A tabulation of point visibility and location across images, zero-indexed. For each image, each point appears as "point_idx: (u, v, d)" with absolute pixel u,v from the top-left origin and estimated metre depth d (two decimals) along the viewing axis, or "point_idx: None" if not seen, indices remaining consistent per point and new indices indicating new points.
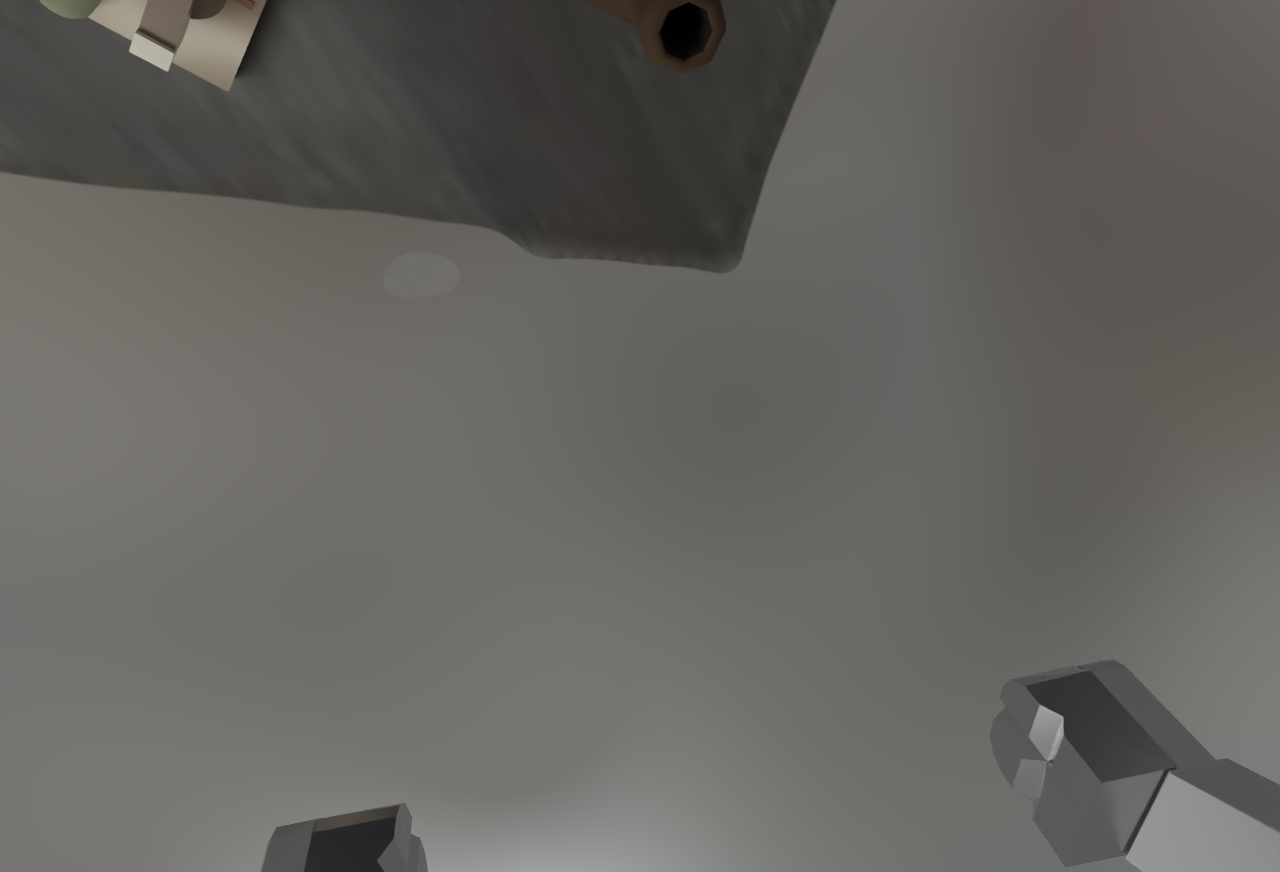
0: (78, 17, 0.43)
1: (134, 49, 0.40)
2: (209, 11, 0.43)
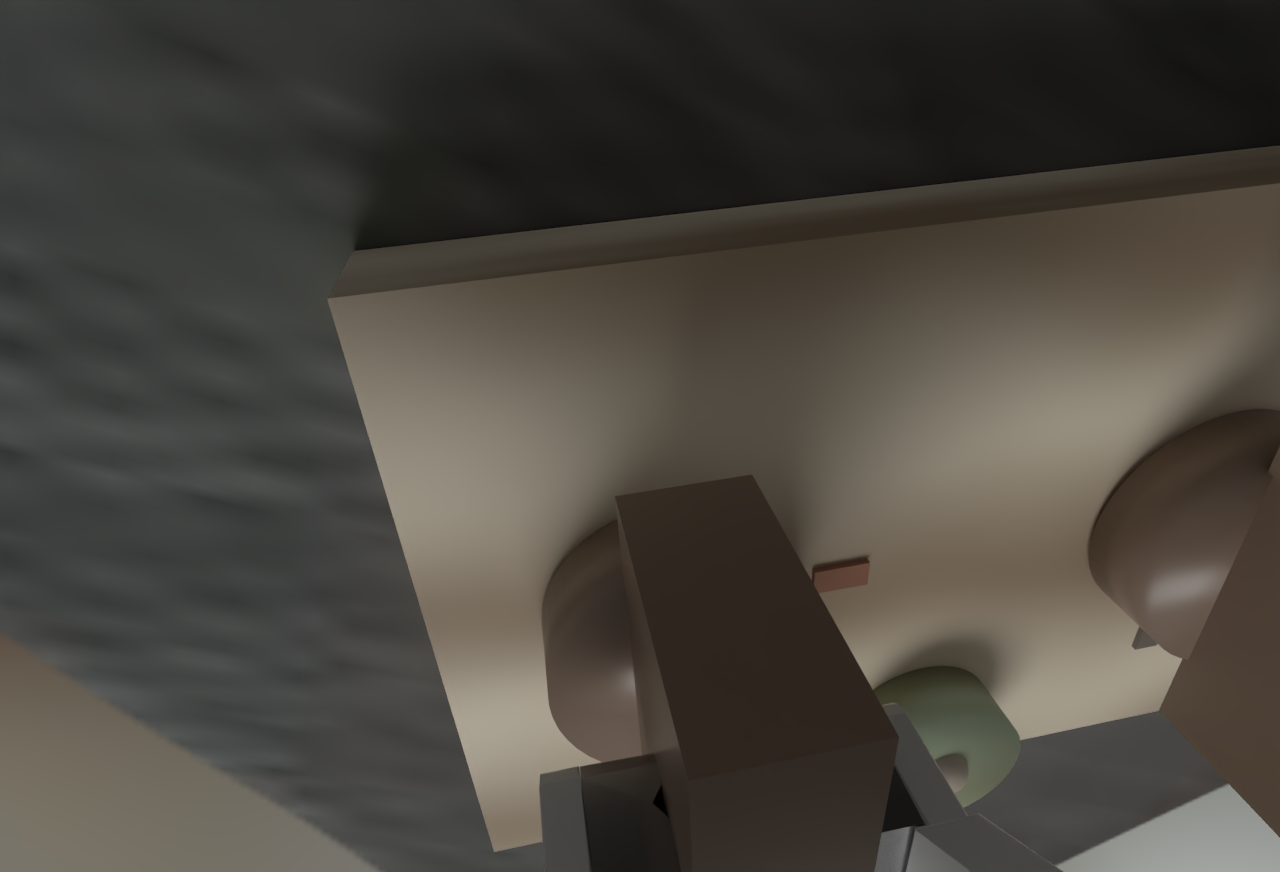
0: (973, 793, 0.15)
1: None
2: None
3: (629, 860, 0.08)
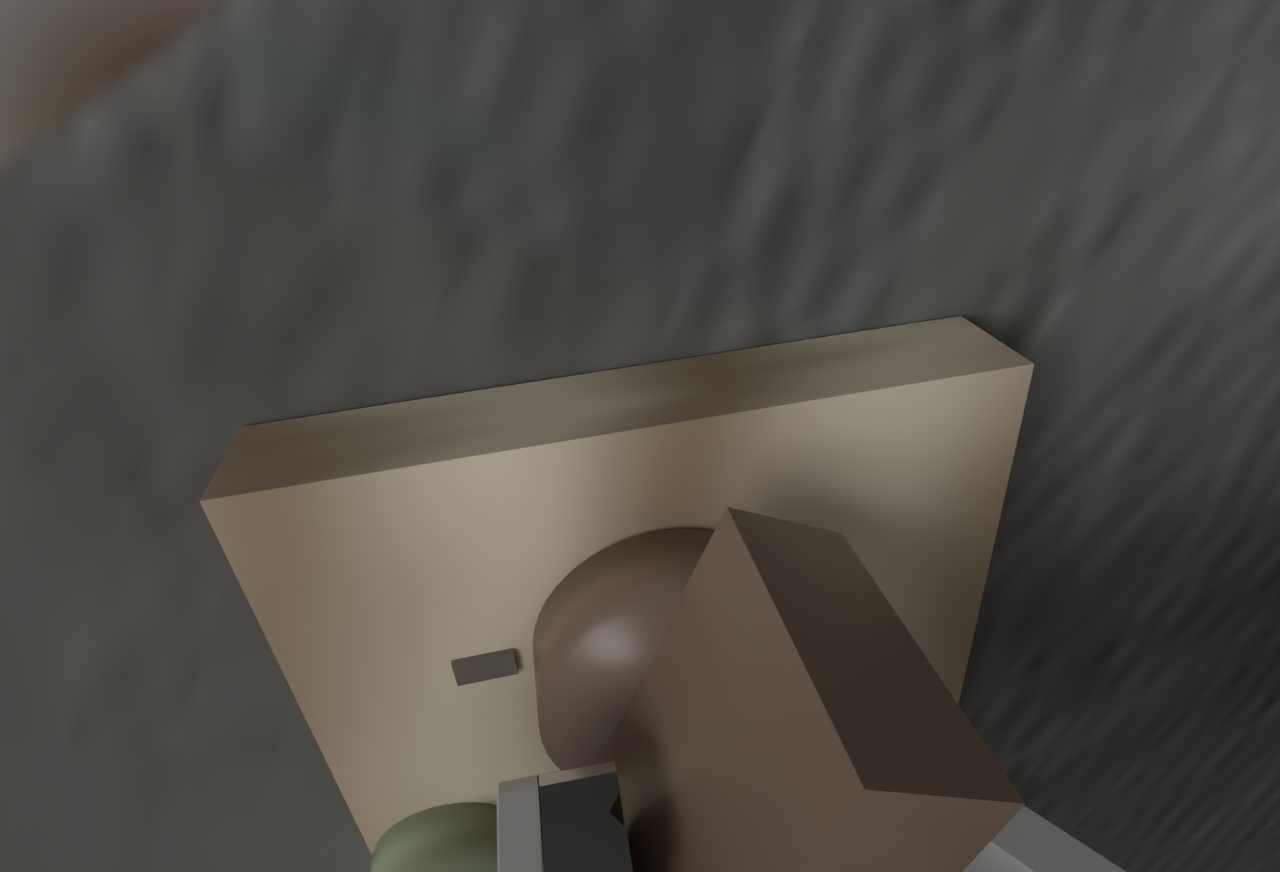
0: None
1: None
2: None
3: (583, 870, 0.08)
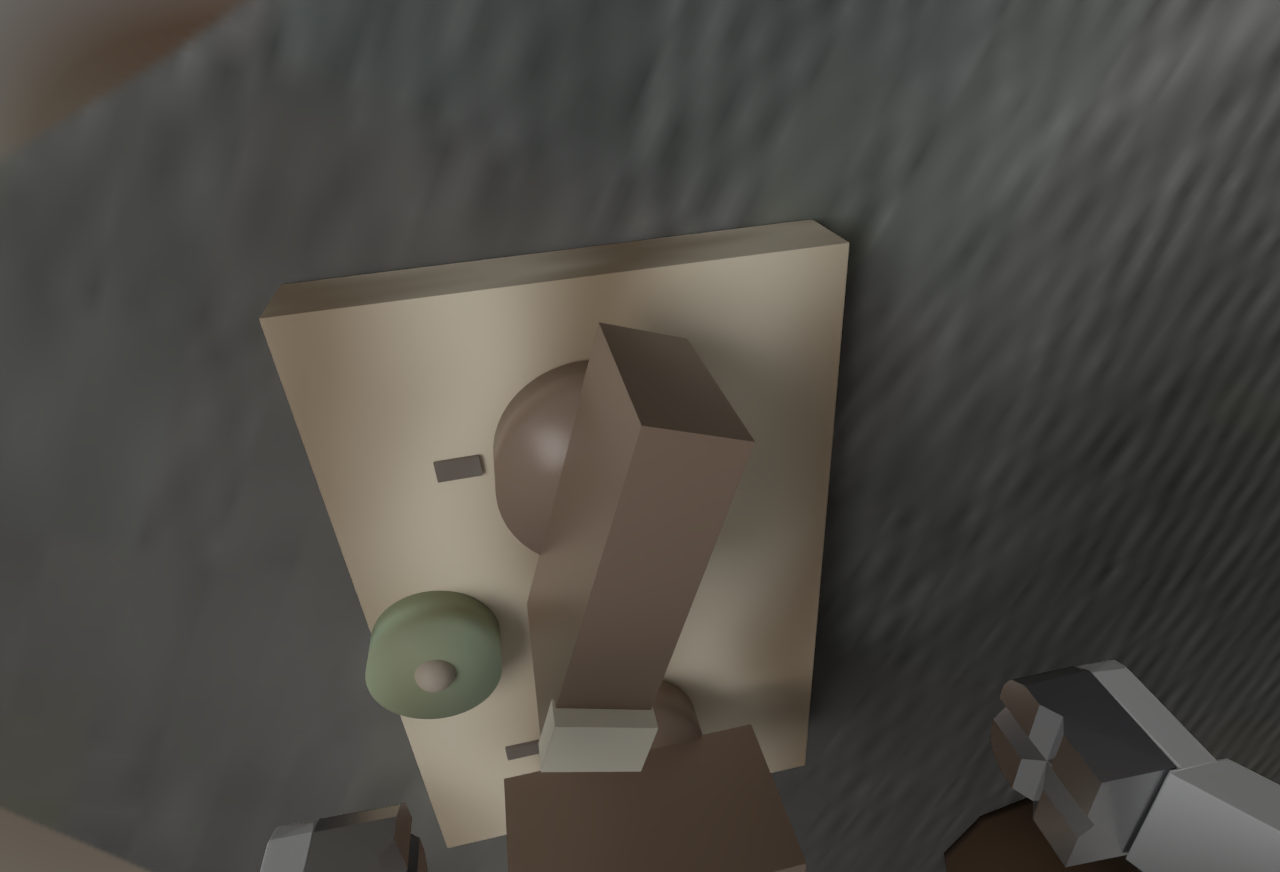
0: (391, 706, 0.18)
1: None
2: None
3: None
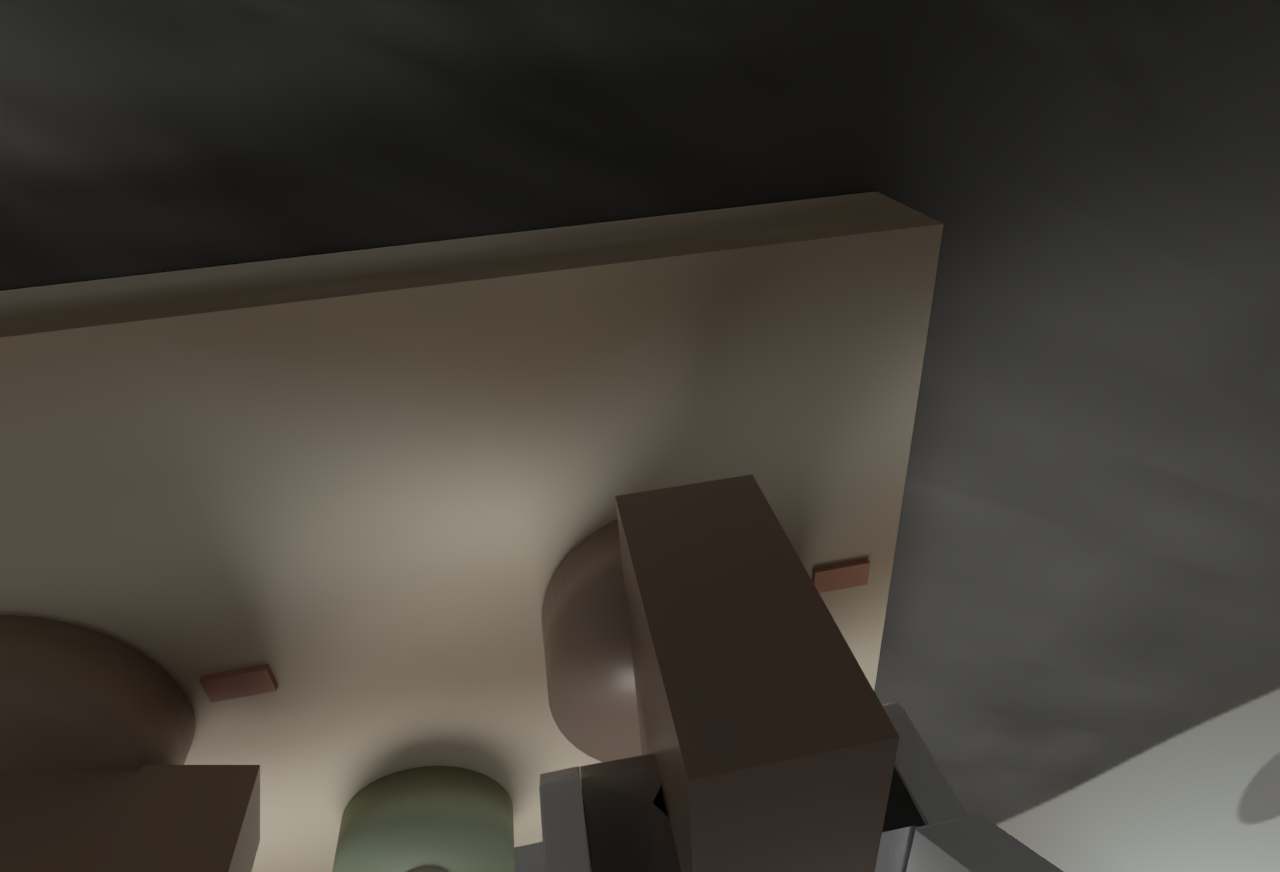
0: None
1: None
2: None
3: (629, 860, 0.08)
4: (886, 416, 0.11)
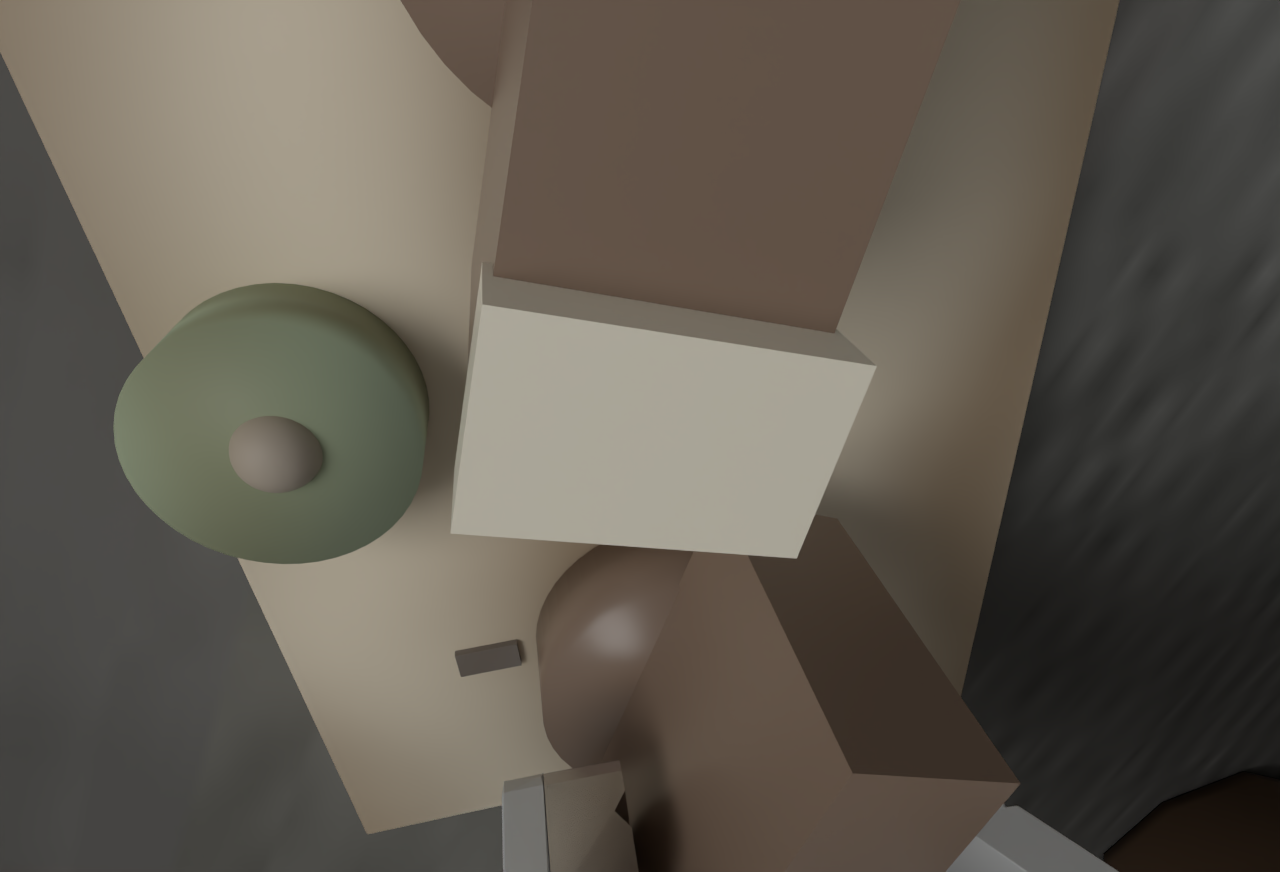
0: (194, 531, 0.09)
1: None
2: None
3: (589, 869, 0.08)
4: None
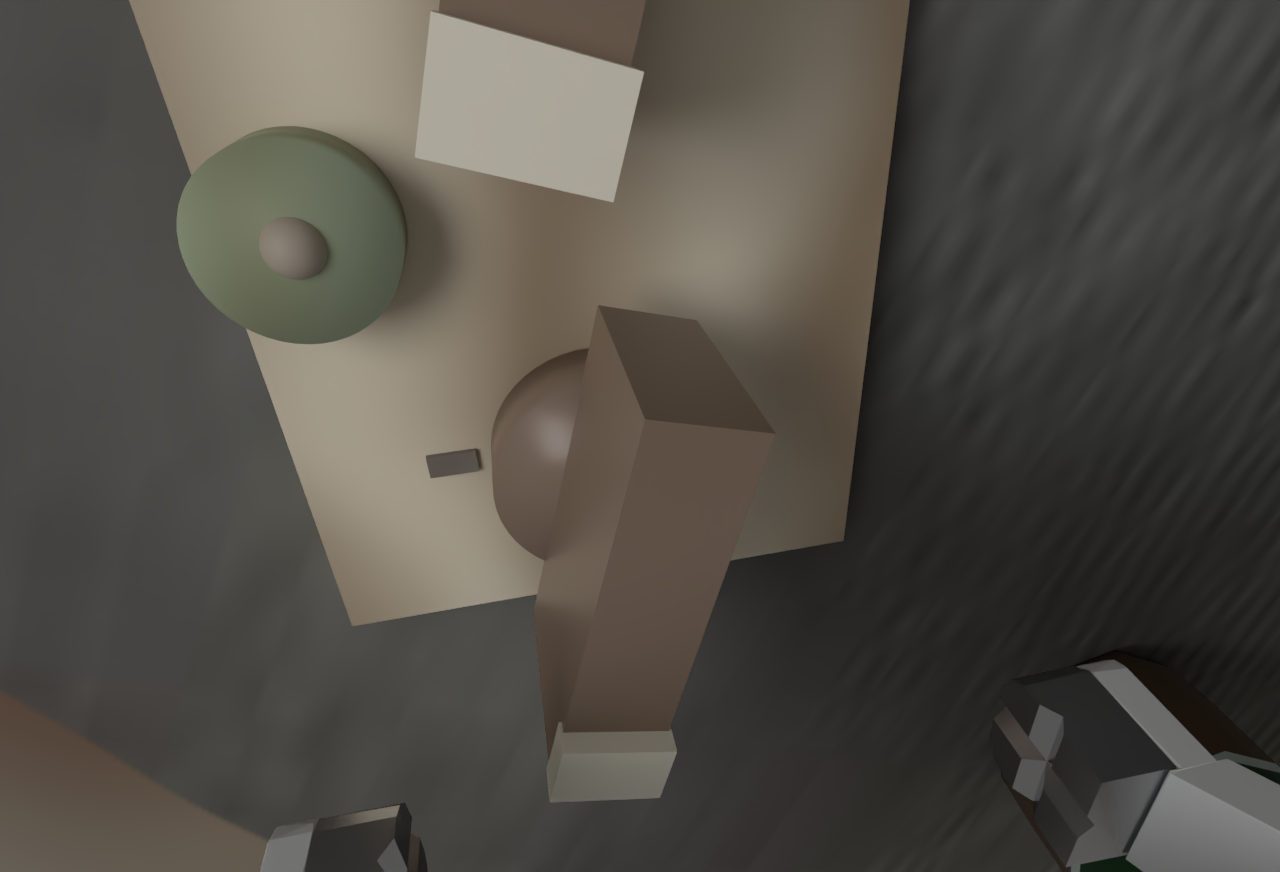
0: (229, 313, 0.12)
1: (563, 791, 0.12)
2: None
3: None
4: None
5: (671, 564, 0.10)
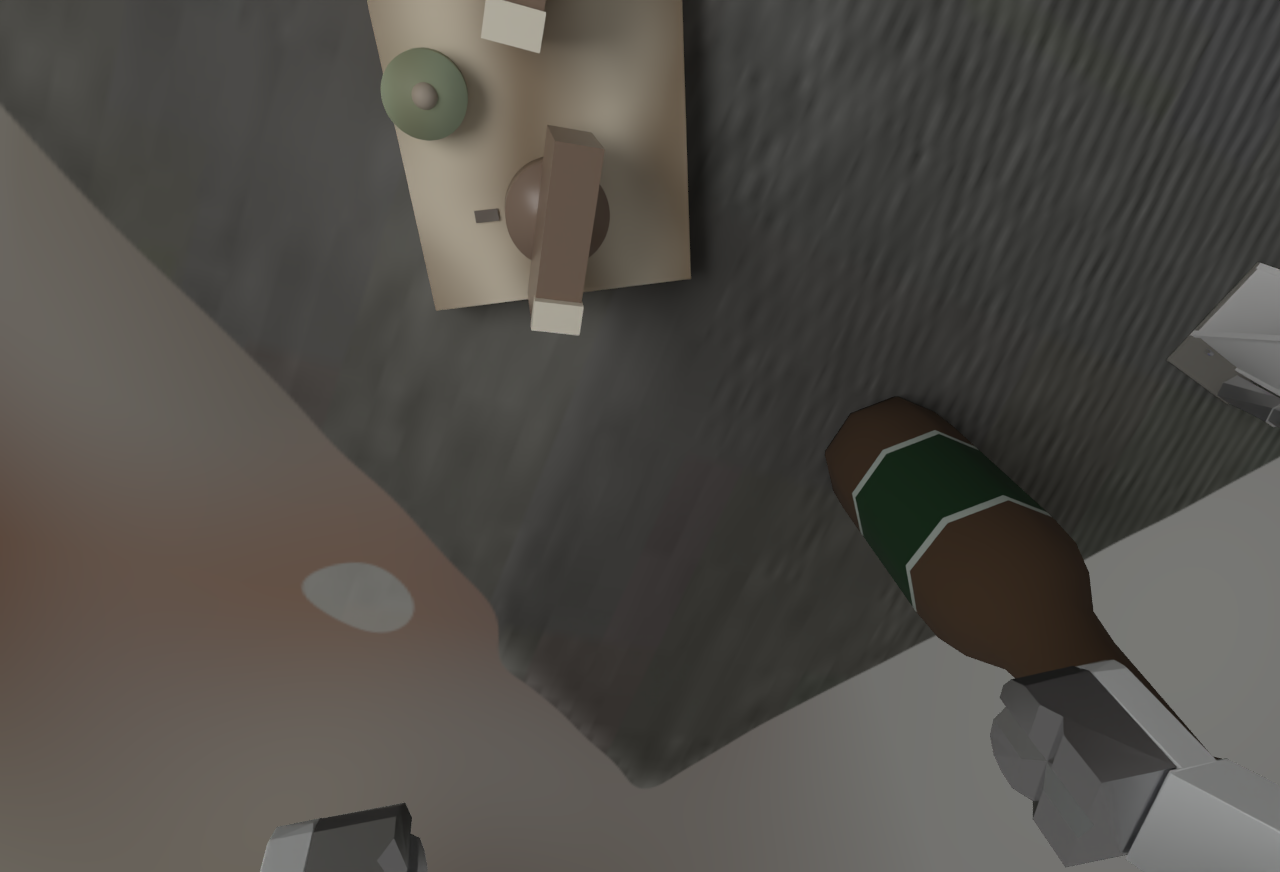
0: (396, 125, 0.29)
1: (536, 324, 0.29)
2: (592, 245, 0.32)
3: None
4: (630, 276, 0.34)
5: (572, 209, 0.27)
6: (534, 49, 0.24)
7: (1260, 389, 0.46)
